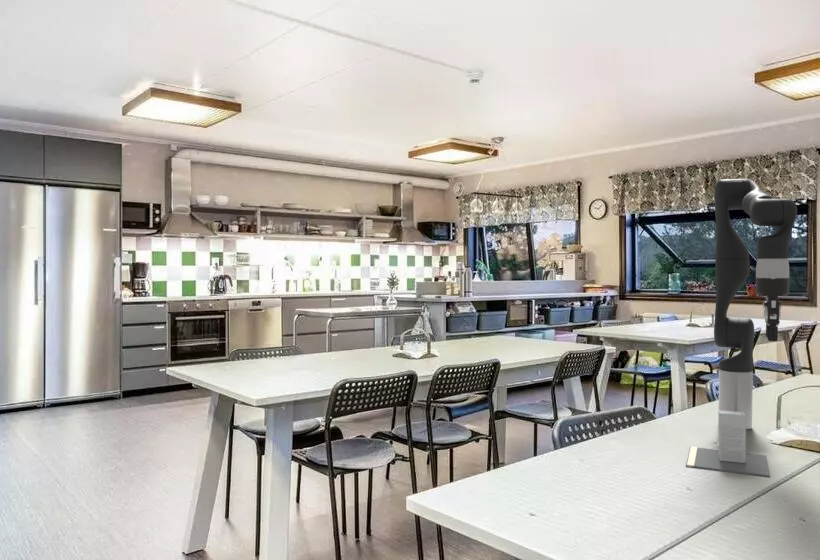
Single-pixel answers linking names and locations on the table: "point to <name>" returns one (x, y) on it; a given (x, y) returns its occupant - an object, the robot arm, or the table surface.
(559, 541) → the table surface
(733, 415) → the skincare box
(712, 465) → the mat
